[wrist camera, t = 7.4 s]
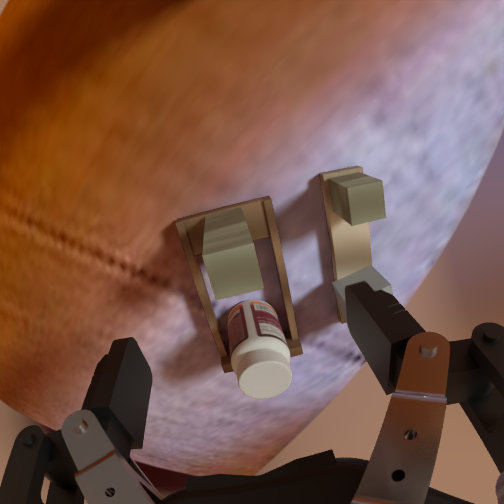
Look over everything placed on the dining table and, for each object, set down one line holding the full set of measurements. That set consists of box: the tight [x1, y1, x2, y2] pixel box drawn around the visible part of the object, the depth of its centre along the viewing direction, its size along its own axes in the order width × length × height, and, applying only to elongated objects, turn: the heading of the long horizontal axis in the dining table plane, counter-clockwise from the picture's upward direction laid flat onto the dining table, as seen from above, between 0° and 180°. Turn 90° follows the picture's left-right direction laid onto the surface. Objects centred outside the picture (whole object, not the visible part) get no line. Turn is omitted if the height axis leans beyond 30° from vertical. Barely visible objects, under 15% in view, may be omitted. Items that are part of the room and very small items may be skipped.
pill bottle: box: [227, 299, 292, 399], centre depth 26 cm, size 5×5×8 cm
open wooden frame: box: [176, 196, 303, 373], centre depth 24 cm, size 14×8×9 cm, turn 13°
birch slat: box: [319, 166, 386, 324], centre depth 26 cm, size 14×4×5 cm, turn 13°
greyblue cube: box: [332, 265, 393, 322], centre depth 27 cm, size 4×4×4 cm
